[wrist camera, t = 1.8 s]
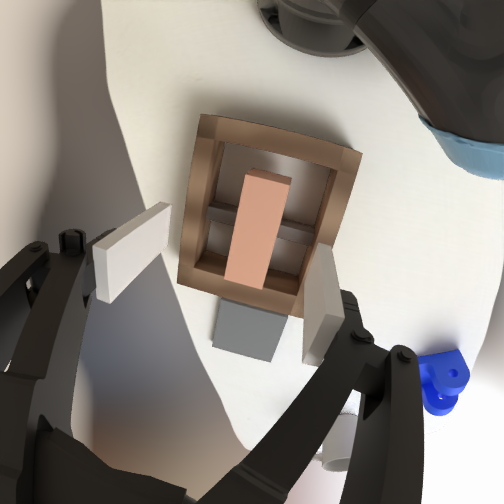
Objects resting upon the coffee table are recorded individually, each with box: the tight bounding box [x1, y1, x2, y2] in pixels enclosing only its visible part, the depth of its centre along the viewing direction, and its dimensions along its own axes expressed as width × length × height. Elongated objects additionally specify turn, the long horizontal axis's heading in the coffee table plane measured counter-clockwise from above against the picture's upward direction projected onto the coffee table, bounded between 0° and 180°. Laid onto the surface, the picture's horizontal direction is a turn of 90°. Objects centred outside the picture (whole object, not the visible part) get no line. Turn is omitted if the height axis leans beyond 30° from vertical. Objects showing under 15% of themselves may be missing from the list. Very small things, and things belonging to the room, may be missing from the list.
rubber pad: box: [212, 297, 288, 362], centre depth 43 cm, size 10×10×1 cm
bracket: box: [417, 350, 470, 416], centre depth 39 cm, size 18×8×9 cm, turn 97°
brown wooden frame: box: [177, 114, 363, 319], centre depth 33 cm, size 21×17×5 cm
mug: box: [312, 414, 358, 472], centre depth 47 cm, size 12×8×11 cm
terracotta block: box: [224, 168, 292, 290], centre depth 31 cm, size 12×4×4 cm, turn 167°
